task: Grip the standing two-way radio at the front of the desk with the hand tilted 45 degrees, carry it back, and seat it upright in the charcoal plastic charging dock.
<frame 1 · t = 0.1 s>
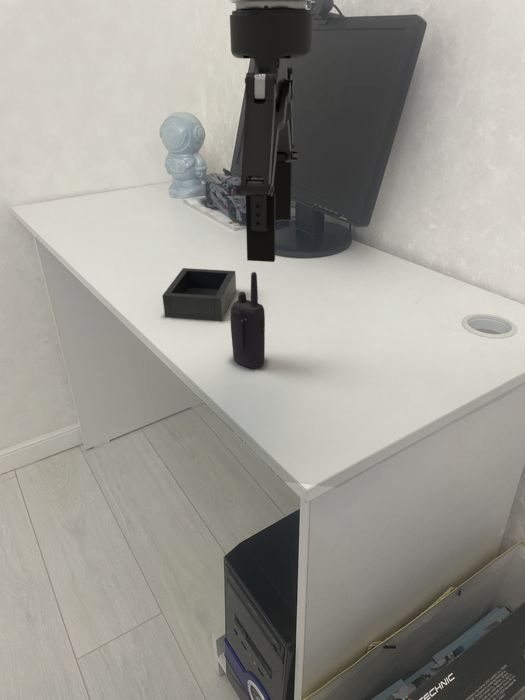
hand: (271, 237, 57), 24 cm above the table, tool pointing down, fingers open, 13 cm apart
two-way radio: (246, 364, 79), on the table
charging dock: (202, 303, 97), on the table
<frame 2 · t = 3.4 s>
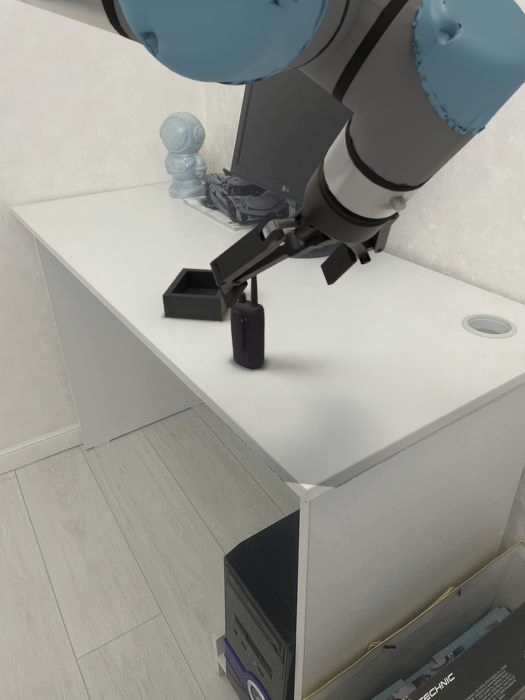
hand: (278, 285, 62), 17 cm above the table, tool tilted 45°, fingers open, 13 cm apart
nothing on the table moved.
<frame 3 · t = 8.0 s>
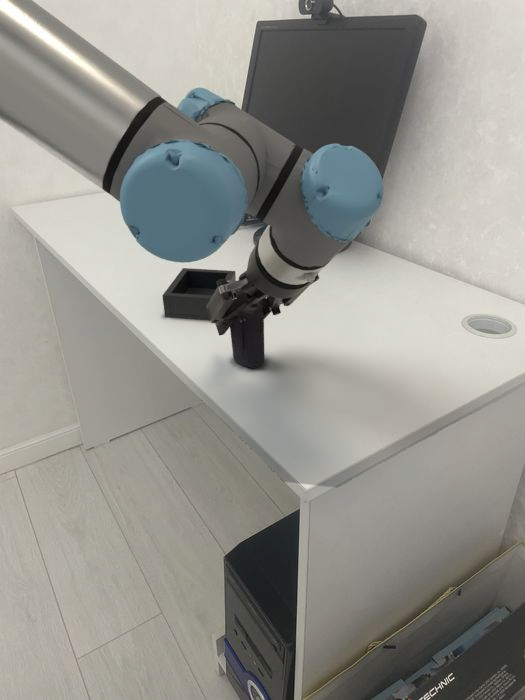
hand: (235, 322, 79), 5 cm above the table, tool tilted 45°, fingers closed on two-way radio, 5 cm apart
two-way radio: (246, 364, 79), on the table, touching gripper
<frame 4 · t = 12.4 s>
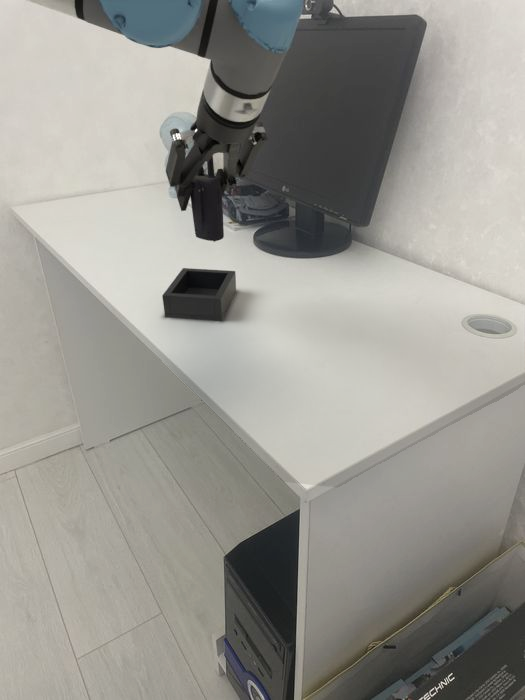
hand: (197, 201, 84), 20 cm above the table, tool tilted 45°, fingers closed on two-way radio, 5 cm apart
two-way radio: (207, 240, 84), point 14 cm above the table, touching gripper
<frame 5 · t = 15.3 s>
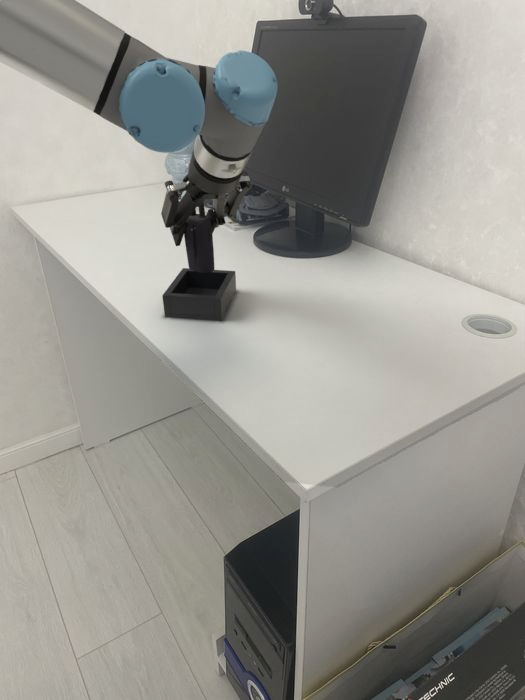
hand: (190, 236, 93), 12 cm above the table, tool tilted 45°, fingers closed on two-way radio, 5 cm apart
two-way radio: (199, 272, 93), point 6 cm above the table, touching gripper
when the fingers open (6 cm above the table, at t = 17.2 s): two-way radio stays where it is, resting on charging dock.
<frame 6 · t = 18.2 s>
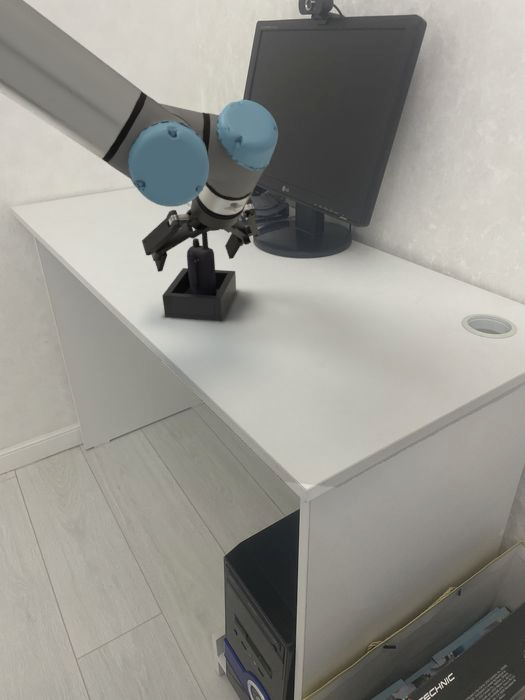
hand: (194, 258, 94), 8 cm above the table, tool tilted 45°, fingers open, 13 cm apart
two-way radio: (201, 300, 96), point 1 cm above the table, touching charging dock
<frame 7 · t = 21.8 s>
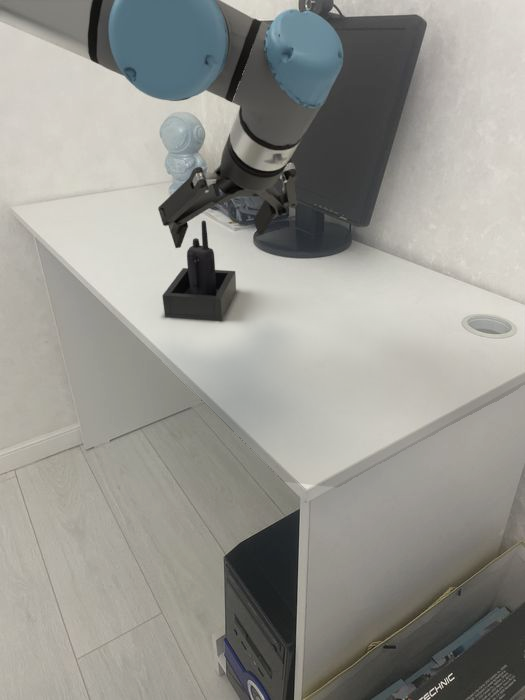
hand: (218, 233, 79), 17 cm above the table, tool tilted 45°, fingers open, 13 cm apart
nothing on the table moved.
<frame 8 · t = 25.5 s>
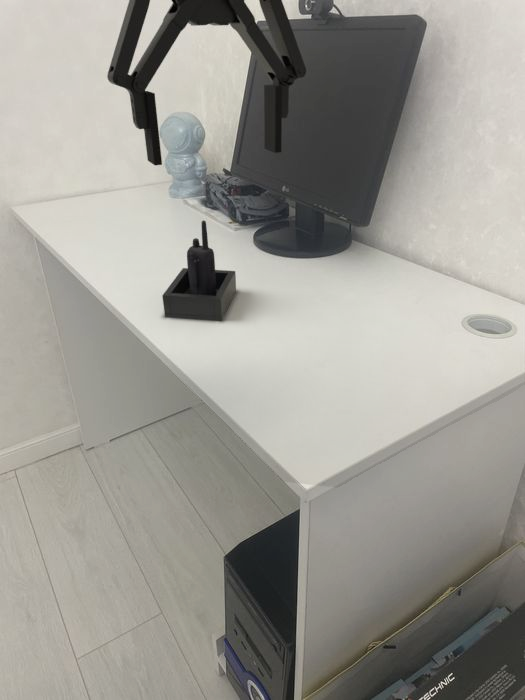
hand: (216, 156, 56), 32 cm above the table, tool pointing down, fingers open, 13 cm apart
nothing on the table moved.
at the end: two-way radio inside the target area in the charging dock (0.1 cm from its centre), point 0.6 cm above the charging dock's base; two-way radio tilted 0°; the gripper is holding nothing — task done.
